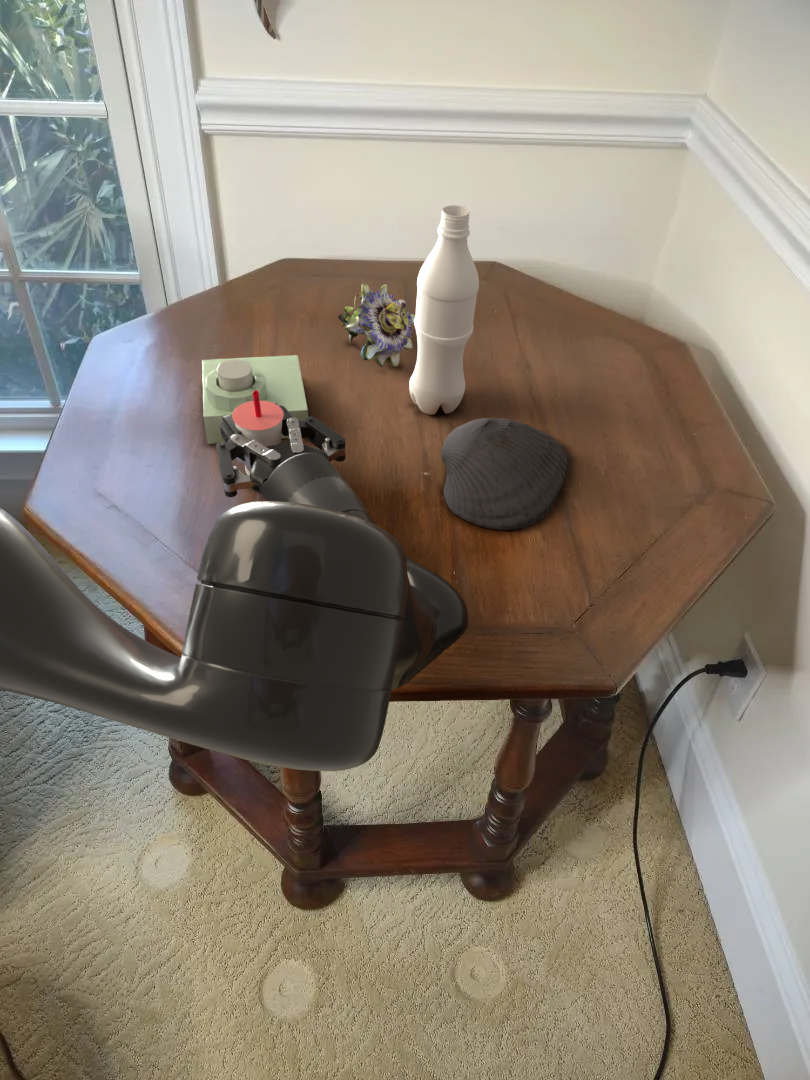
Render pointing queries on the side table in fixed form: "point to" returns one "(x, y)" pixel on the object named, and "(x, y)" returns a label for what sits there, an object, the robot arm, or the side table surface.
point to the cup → (259, 421)
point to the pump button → (235, 375)
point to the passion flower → (380, 325)
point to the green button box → (270, 379)
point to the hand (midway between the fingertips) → (249, 416)
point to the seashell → (502, 473)
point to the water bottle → (444, 315)
